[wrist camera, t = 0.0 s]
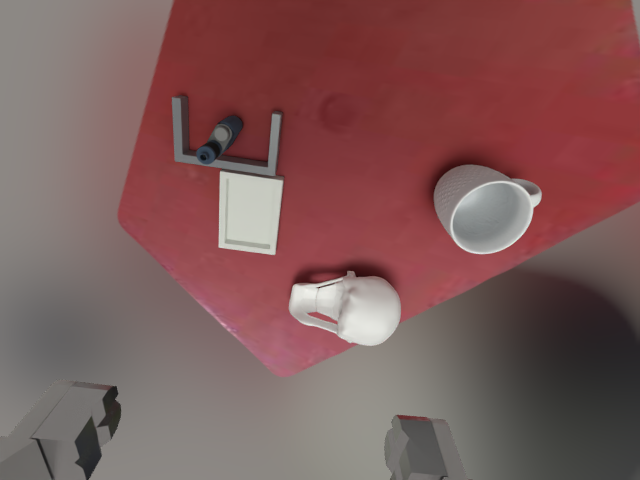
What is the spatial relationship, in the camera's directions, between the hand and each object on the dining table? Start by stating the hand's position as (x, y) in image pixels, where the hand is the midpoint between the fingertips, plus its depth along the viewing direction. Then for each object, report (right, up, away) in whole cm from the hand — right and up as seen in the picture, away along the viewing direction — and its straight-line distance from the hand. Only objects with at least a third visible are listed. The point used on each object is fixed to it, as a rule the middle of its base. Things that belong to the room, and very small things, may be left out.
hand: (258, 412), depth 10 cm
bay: (-12, +22, +43) cm, 50 cm away
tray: (-10, +10, +49) cm, 51 cm away
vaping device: (-12, +22, +43) cm, 50 cm away
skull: (+7, -4, +57) cm, 57 cm away
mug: (+26, +14, +47) cm, 56 cm away
